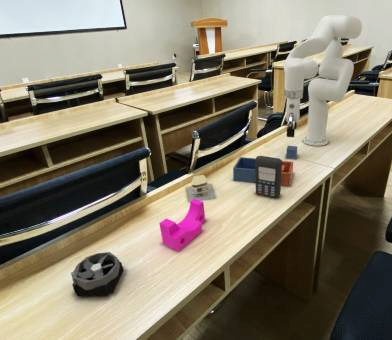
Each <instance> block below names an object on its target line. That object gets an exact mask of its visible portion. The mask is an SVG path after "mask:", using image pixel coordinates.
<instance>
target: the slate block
mask: <svg viewBox="0 0 392 340" xmlns="http://www.w3.org/2000/svg"><path fill="white" fill-rule="evenodd" d="M285 155H286V156H285V158H286V159H288V160H289V159H291V160H297V157H298V146H296V145H287V147H286V153H285Z"/></svg>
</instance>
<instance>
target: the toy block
mask: <svg viewBox="0 0 392 340" xmlns="http://www.w3.org/2000/svg"><path fill="white" fill-rule="evenodd" d="M205 222H206V213H205V203H204V201H203V200H197V199H193V200H192V201H190V202H189V207H188V210H187V213H186V215H185V216H184V217H183V219H182V220H181V221H179V222H178V223H176V221H174V220H171V219H169V218H164V219H163V220H161V221H160V222H159V223H158V224H159V230H160V233H161V234H160V235H161V240H162V244H163V245H164V246H167V247H169V248H171V249H173V250H175V251H177V252H180V251H181V250H182V249H183V248H185V246H187V245H188V244H189V243H191V241H193V240H194V239H196V238H197V236H199V235H200V234H201V233H202V232H203V228H202V227H203V226H202V225H203V224H204V223H205Z"/></svg>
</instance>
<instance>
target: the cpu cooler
mask: <svg viewBox="0 0 392 340" xmlns="http://www.w3.org/2000/svg"><path fill="white" fill-rule="evenodd" d="M123 273H124V267H123V263H122V261H120V259H118V257H117V256H116V255H115V254H114V253H112V252H110V251H106V252H97V253H95V254H91V255H88V256H86V257H85V258H84V259H81V261H80V262H79V263H78V264H76V266H75V268H74V270H73V271H72V272H70V275H71V279H72V282H73V283H72V288H73V291H74V294H75V295H76V296H77V297H78V298H91V297H92V298H93V297H95V298H96V297H100V298H101V297H108V296H109V295H110V294H114V292H115V290H116V288H117V285H118V283H119V281H120V279H121V277H122V275H123Z"/></svg>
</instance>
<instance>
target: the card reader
mask: <svg viewBox="0 0 392 340" xmlns="http://www.w3.org/2000/svg"><path fill="white" fill-rule="evenodd" d="M255 158H256V159H255V183H254V185H255V194H257V195H258V196H263V197H269V198H273V199H279V198H280V196H281V192H282V191H281V189H282V186H281V174H282V161H283V159H281V158H280V157H272V156H267V155H257V156H256V157H255Z"/></svg>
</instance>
